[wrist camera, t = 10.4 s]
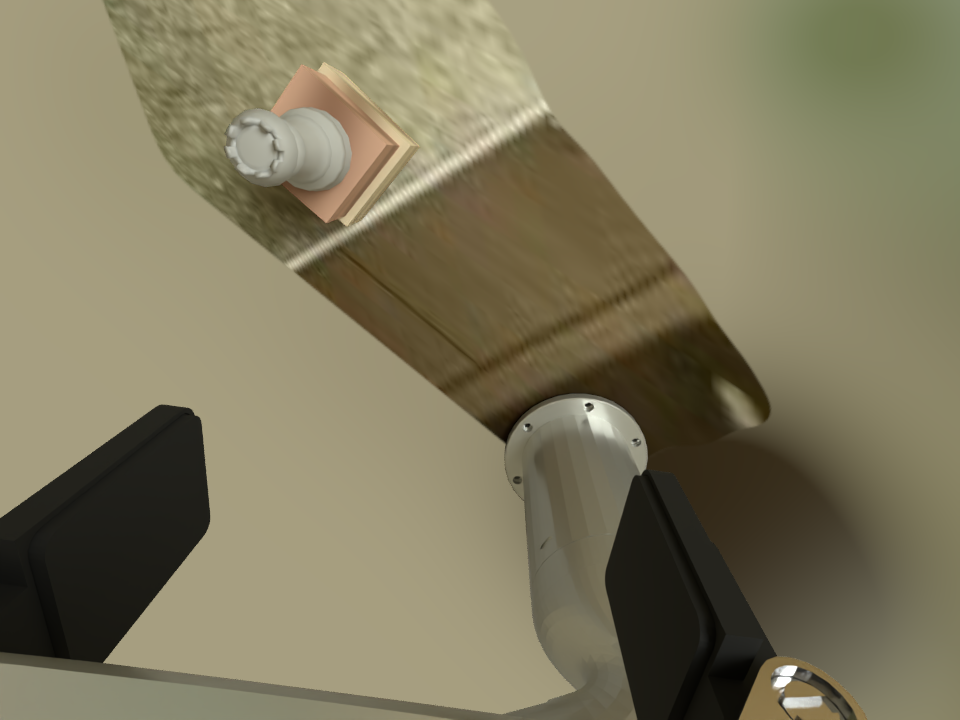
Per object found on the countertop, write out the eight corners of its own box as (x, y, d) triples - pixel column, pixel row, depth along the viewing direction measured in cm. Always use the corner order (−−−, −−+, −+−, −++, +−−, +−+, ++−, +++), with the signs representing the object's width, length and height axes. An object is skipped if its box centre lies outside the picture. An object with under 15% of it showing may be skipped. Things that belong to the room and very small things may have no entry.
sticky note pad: (420, 146, 36) (398, 144, 29) (361, 220, 38) (328, 234, 31) (342, 72, 34) (299, 49, 27) (286, 153, 37) (231, 152, 29)
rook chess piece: (281, 188, 30) (208, 198, 22) (274, 104, 28) (193, 86, 21) (355, 193, 30) (306, 205, 22) (353, 110, 28) (300, 94, 21)
